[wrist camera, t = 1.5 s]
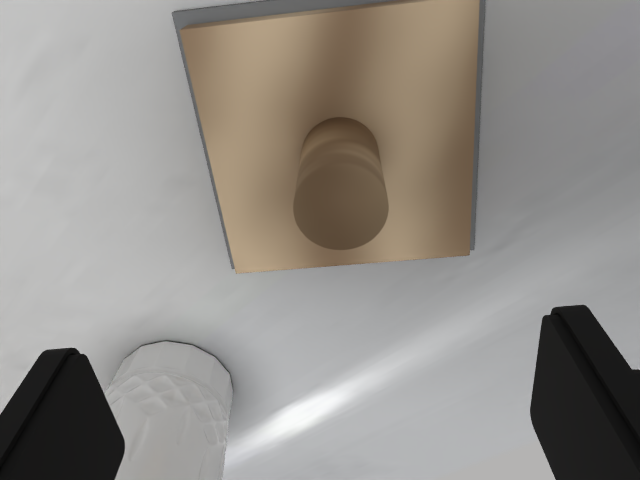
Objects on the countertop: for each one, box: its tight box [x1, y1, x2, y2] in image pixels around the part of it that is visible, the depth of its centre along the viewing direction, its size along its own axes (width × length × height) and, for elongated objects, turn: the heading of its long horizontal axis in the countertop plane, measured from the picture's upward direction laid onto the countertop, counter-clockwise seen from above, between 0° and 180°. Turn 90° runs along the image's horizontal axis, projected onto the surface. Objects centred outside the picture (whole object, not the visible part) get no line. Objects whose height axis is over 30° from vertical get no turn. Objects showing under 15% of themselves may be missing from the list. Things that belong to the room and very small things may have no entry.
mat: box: [172, 0, 485, 269], centre depth 23 cm, size 12×12×1 cm
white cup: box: [104, 341, 233, 480], centre depth 27 cm, size 8×8×10 cm
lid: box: [180, 0, 480, 273], centre depth 20 cm, size 11×11×6 cm
